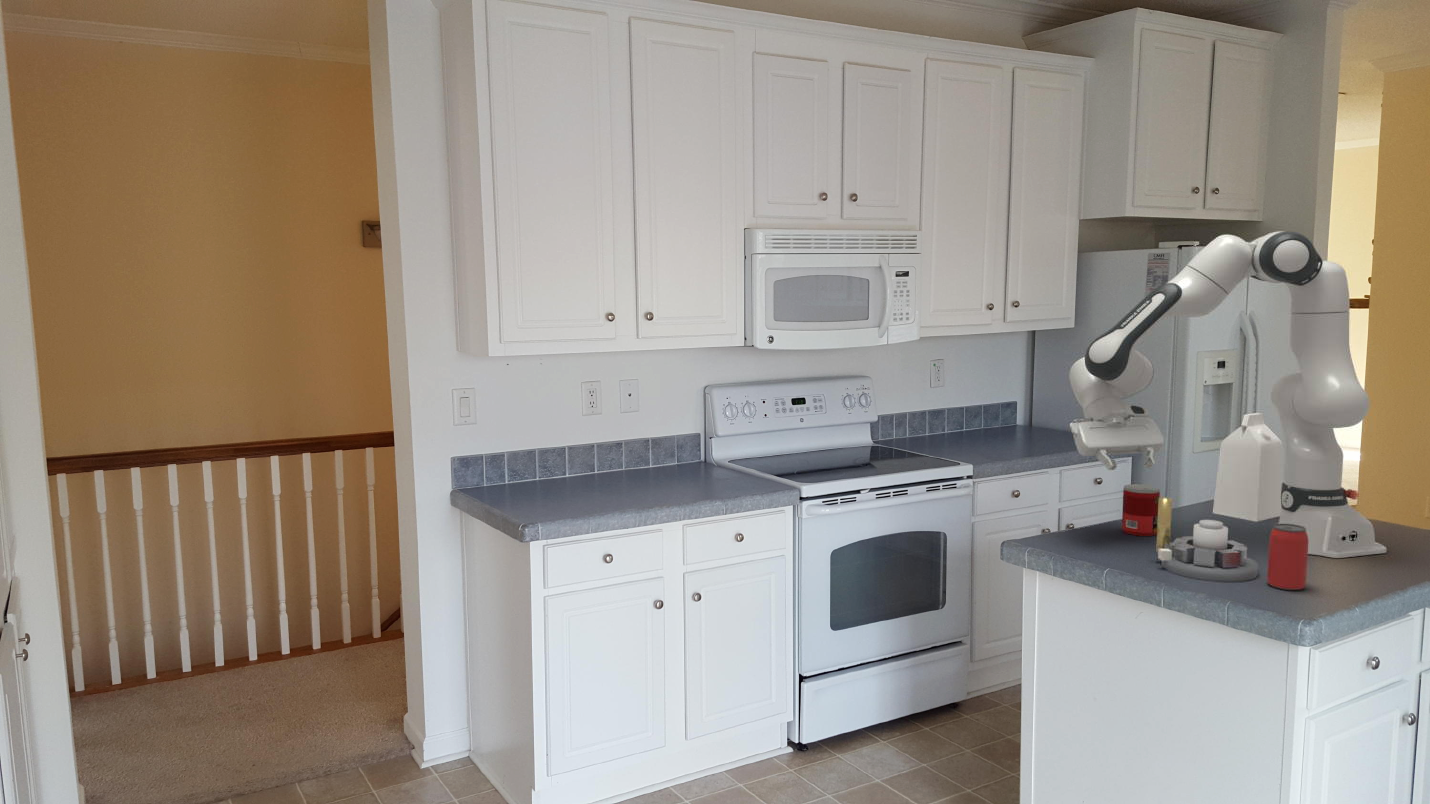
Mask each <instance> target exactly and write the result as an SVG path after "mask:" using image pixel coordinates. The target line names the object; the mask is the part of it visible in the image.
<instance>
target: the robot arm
mask: <svg viewBox="0 0 1430 804" xmlns="http://www.w3.org/2000/svg"><path fill="white" fill-rule="evenodd" d="M1248 277H1249V278H1253V279H1255V280H1258V281H1262V282H1267V283H1273V284H1276V283H1277V284H1281V283H1284V284H1285V286H1286V287H1287V289H1288V291H1289V293H1290V297H1291V302H1290V304H1291V305H1290V334H1289V335H1290V336H1289V337H1290V339H1289V342H1290V343H1289V346H1290V349H1291V352H1292V353H1293V354H1294V356H1295V358H1296V360H1297V363H1298V365H1299V366H1298V367H1299V370H1300V372H1294V373H1290V374H1286V375H1283V376H1282V377H1280V378H1279V379H1278V380H1276V381H1275V383H1274V385H1272V389H1271V392H1270V398H1271V399H1270V400H1271V403H1272V404H1273V407H1274V408H1275V409H1276V412H1277V415H1278V418H1279V420H1280V425H1281V430H1282V434H1283V443H1284V450H1285V454H1284V455H1285V457H1284V458H1285V459H1284V474H1283V483H1282V488H1281V506H1282V508H1281V514H1280V516H1279V518H1278V519H1279V520H1278V523H1277V524H1295V525H1300V526H1303V527H1305V528H1306V533H1307V535H1308V540H1309V542H1308V555H1315V556H1322V557H1328V558H1333V559H1342V558H1343V559H1344V558H1350V557H1352V558H1353V557H1359V556H1369V555H1378V554H1386V553H1387V552H1388V551H1387V547H1386V546H1384V545H1383V544H1381V543H1379V542H1377V541H1375V540H1376V539H1375V537H1376V536H1375V530H1374V529H1375V528H1374V526H1373V524H1372V522H1371V521H1370V520H1369V519H1368V518H1366V517H1365V516H1364V515H1362V513H1360V512H1358V511H1357V510H1356V509H1355V508H1354V507H1352V506H1351V505H1350V504H1349V502H1348V499H1351V500H1357V499H1358V498H1359V496H1360V492H1358V491H1357V490H1355V489H1354V490H1353V489H1350V488H1349V489H1345V488H1344V487H1343V486H1342V483H1343V465H1344V452H1343V449H1342V448H1341V446H1340V444H1339V443H1338V441H1337V437H1336V434H1335V431H1334V430H1335V429H1343V428H1350V427H1353V426H1355V425H1358V424H1360V423H1361V422H1362V421H1363V420H1364V419H1365V418H1366V416H1367V415H1368V412H1369V409H1370V399H1369V396H1368V393H1367V391H1366V390H1365V389H1364V387H1363V386H1362V385H1361V383H1360V381H1359V379H1358V376H1357V373H1356V369H1355V366H1354V363H1353V359H1352V354H1351V346H1350V304H1351V303H1350V292H1349V283H1348V278H1347V273H1346V271H1345V268H1344V267H1343V266H1342V265H1340V264H1339V263H1337V262H1335V261H1330V260H1323V259H1322V257H1321V256H1320V254H1319V252H1318V251H1317V250H1316V247H1315V246H1314V244H1313V243H1312V241H1311V240H1310V239H1309V238H1308V237H1307V236H1305V235H1304V234H1302V233H1300V232H1296V231H1290V230H1288V231H1284V230H1282V231H1281V230H1279V231H1273V232H1270V233H1267V234H1264V235H1261V236H1259V237H1256V238H1253V239H1251V240H1249V241H1246V240H1244V239H1243V238H1241V237H1239V236H1236V235H1233V234H1221V235H1219V236H1217V237H1216V238H1214V239H1212V240H1211V241H1210V242H1209V243H1208V244H1207V245H1205V246H1204V247H1203V248H1202V249H1201V250H1199V252H1198V253H1197V254H1196V255H1195V256H1194V257H1193V258H1192V259H1191V260H1190V261H1189V262H1188V263H1187V264H1186V265H1185V267H1184V268H1182V270H1181V271H1180V272H1178V273H1177V275H1175V276H1174V277H1173V278H1172V279H1170V280H1169V281H1168V282H1166V283H1163V284H1161V285H1159V286H1158V287H1156V288H1154V289H1153V290H1152V291H1151V292H1150V293H1148V295H1146V296H1145V297H1144V298H1143V299H1142V300H1141V301H1139V303H1138V304H1136V305H1135V306H1134V307H1133V308H1132V309H1131V310H1130V311H1129V312H1128V313H1127V314H1126V315H1124V316H1123V317H1122V319H1120V320H1119V321H1118V322H1117V323H1116V324H1115V325H1114V326H1113V327H1111V328H1110V329H1109V330H1107V331H1106V332H1104V333H1102V334H1100V335H1099V336H1098V337H1096V338H1094V340H1092V341H1091V343H1090V344H1089V346H1088V347H1087V349H1086V350H1085V355H1084V357H1081V358H1080V359H1078V360H1076V361H1075V362H1074V363H1073V364H1072V365H1071V368H1070V370H1069V373H1068V374H1069V375H1068V377H1069V378H1068V379H1069V383H1070V386H1071V389H1072V391H1073V393H1074V396H1075V398H1076V400H1077V402H1078V404H1079V405H1080V406H1081V407H1082V411H1083V416H1084V418H1082V419H1081V418H1079V419H1078V418H1075V419H1073V420H1072V421H1071V422H1070V423H1069V430H1070V432H1071V433H1072V434H1073V441H1074V444H1075V446H1076V450H1077V452H1078V453H1079V454H1080V455H1081V456H1083V457H1092V456H1095V457H1096V459H1097V460H1098V461H1099V462H1101V463H1102V464H1104V465H1105V467H1106V469H1107V470H1108V471H1112V470H1113V471H1114V470H1116V468H1117V466H1118V465H1117V462H1116V460H1115V459H1114V458H1113V459H1111V458H1110V457H1109V455H1110V456H1111V455H1127V454H1129V455H1130V454H1142V455H1143V456H1144V457H1146V458H1145V459H1144V460H1143V465H1144V467H1145V469H1146V468H1147V469H1150V468H1154V466H1155V465H1156V462H1155V459H1154V457H1153V456H1154V453H1158V452H1159V451H1160V450H1161V449H1162V447H1163V446H1164V444H1165V438H1164V435H1163V433H1162V432H1161V430H1160V428H1159V426H1158V425H1157V424H1156V422H1155V420H1153V419H1152V418H1150V417H1148V416H1149V415H1150V414H1149V411H1148V409H1147V408H1146V407H1143V406H1139V405H1134V404H1131V403H1129V402H1125V401H1122V400H1125V399H1126V398H1130V397H1133V396H1134V395H1135V394H1139V393H1140V392H1142V391H1144V390H1145V389H1147V387H1148V386H1150V384H1151V382H1152V380H1153V378H1154V373H1155V372H1154V370H1155V369H1154V365H1153V363H1152V362H1151V361H1150V360H1149V359H1148V358H1147V357H1146V356H1144V355H1143V354H1142V353H1141V352H1139V351H1138V350H1136V349H1135V346H1136V345H1137V344H1138V343H1139V342H1140V341H1141V340H1142V339H1143V338H1144V337H1146V335H1148V334H1149V332H1151V331H1152V330H1153V329H1154V328H1155V327H1156V326H1157V325H1158V324H1159V323H1161V322H1162V321H1164V320H1165V319H1168V318H1172V317H1187V318H1198V317H1199V318H1200V317H1204V316H1206V315H1208V314H1210V313H1211V312H1213V311H1214V310H1216V309H1217V308H1218V307H1219V306H1220V305H1221V304H1222V303H1223V302H1224V301H1225V299H1226V298H1228V296H1229V295H1230V294H1231V293H1232V292H1233V291H1234V290H1235V288H1236V287H1237V286H1238V285H1239V284H1240V283H1241V282H1242V281H1244V280H1245V279H1246V278H1248Z"/></svg>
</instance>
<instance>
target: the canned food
mask: <svg viewBox="0 0 1430 804" xmlns="http://www.w3.org/2000/svg"><path fill="white" fill-rule="evenodd" d="M1160 492H1161V489H1160V488H1159V487H1158V486H1154V485H1149V484H1141V483H1140V484H1139V483H1136V484H1135V483H1133V484H1126V485H1123V491H1122V515H1121V516H1122V520H1121V529H1122V532H1124V533H1125V534H1128V535H1132V536H1139V537H1152V536H1157V523H1158V502H1159V497H1161V496H1160V495H1161V494H1160Z"/></svg>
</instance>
